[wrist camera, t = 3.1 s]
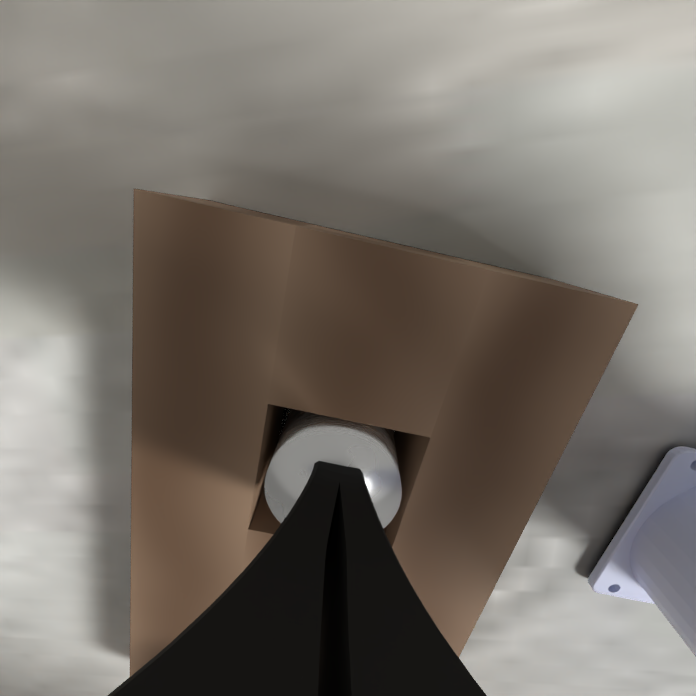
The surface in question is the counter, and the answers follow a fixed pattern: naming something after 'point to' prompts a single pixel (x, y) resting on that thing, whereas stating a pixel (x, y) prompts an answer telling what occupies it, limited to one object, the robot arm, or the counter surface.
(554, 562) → the counter surface
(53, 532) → the counter surface
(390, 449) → the peg
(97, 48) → the counter surface
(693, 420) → the counter surface
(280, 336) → the wooden peg board
